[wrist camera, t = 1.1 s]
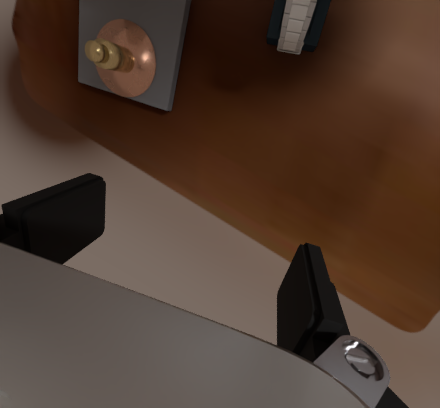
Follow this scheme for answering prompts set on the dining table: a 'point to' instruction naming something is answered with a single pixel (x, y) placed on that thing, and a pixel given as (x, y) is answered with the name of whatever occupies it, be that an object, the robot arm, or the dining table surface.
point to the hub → (123, 57)
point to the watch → (297, 24)
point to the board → (157, 32)
